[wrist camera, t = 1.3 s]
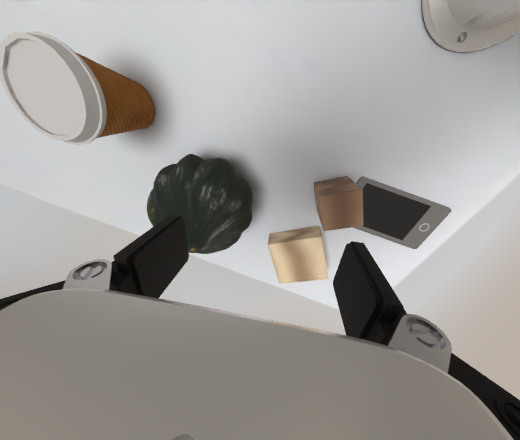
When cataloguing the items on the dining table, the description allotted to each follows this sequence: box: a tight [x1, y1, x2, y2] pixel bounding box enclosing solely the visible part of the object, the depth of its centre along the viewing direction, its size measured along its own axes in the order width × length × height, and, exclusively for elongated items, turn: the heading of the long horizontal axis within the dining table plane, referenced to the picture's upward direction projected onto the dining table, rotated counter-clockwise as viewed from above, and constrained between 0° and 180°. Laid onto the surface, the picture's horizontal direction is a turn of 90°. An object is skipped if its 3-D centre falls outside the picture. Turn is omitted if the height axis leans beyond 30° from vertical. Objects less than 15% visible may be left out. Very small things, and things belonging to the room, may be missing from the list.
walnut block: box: [314, 176, 363, 231], centre depth 27 cm, size 5×5×7 cm
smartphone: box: [352, 177, 451, 249], centre depth 30 cm, size 15×8×1 cm, turn 72°
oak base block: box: [268, 226, 328, 283], centre depth 34 cm, size 9×9×4 cm
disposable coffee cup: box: [0, 32, 155, 145], centre depth 23 cm, size 10×10×12 cm
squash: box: [147, 154, 252, 254], centre depth 28 cm, size 14×15×15 cm
